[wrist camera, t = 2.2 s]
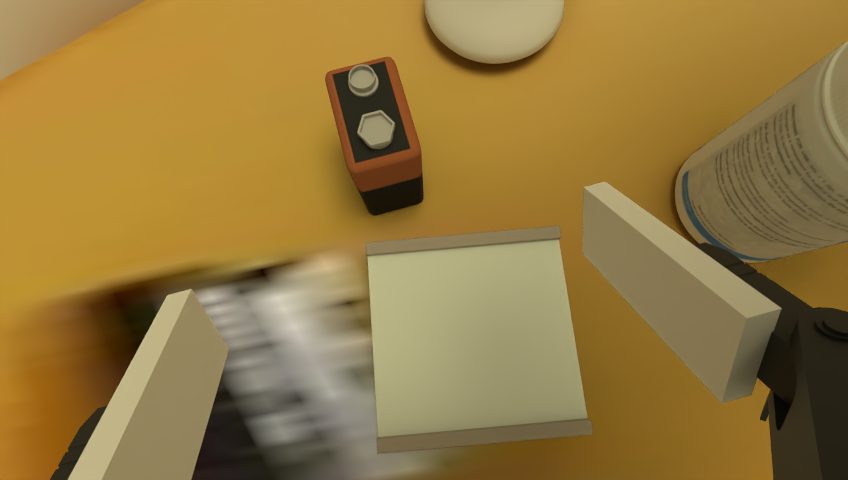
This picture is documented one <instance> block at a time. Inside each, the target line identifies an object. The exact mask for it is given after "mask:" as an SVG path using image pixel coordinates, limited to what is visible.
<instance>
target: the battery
mask: <svg viewBox="0 0 848 480" xmlns="http://www.w3.org/2000/svg"><path fill="white" fill-rule="evenodd" d="M325 81H326V86H327V90H328V94H329V98H330V102H331V106H332V109H333V113H334V117H335V121H336V125H337V129H338V133H339V137H340V141H341V145H342V149H343V153H344V157H345V160H346V164H347V168H348V170H349V172H350V174H351V176H352V178H353V180H354V182H355V184H356V186H357V188H358V190H359V193H360V195H361V197H362V199H363V201H364V203H365V205H366V207H367V209H368V211H369V212H370V213H371V214H373V215H376V214H380V213H384V212H388V211H391V210H395V209H399V208H402V207H406V206H410V205H413V204H417V203H420V202H421V201H422V200H423V177H422V158H421V147H420V144H419V140H418V137H417V134H416V130H415V127H414V124H413V120H412V117H411V114H410V110H409V107H408V104H407V100H406V97H405V94H404V90H403V87H402V84H401V80H400V77H399V74H398V70H397V67H396V64H395V62H394V60H393V59H392V58H391V57H384V58H380V59H376V60H372V61H368V62H364V63H360V64H356V65H352V66H348V67H344V68H340V69H336V70H333V71H329V72H328V73H327V74H326V77H325Z"/></svg>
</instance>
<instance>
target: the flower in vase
mask: <svg viewBox="0 0 848 480" xmlns="http://www.w3.org/2000/svg"><path fill="white" fill-rule="evenodd" d="M424 9H425V15H426V18H427V21H428V23H429V25H430V27H431V29H432V31H433V32H434V34H435V35H436V36H437V38H438V39H439V40H440V41H441V42H442V43H443V44H444V45H446V46H447V47H448V48H449V49H451V50H452V51H454V52H455V53H457V54H458V55H460V56H462V57H465V58H467V59H470V60H473V61H476V62H481V63H489V64H501V63H508V62H512V61H516V60H520V59H522V58H525V57H528V56H530V55H532V54H533V53H535V52H537V51H538V50H540V49H541V48H543V47H544V46H545V45H546V44H547V43H548V42H549V41H550V40H551V39H552V38H553V36H554V35H555V34H556V32H557V30H558V28H559V26H560V24H561V21H562V18H563V13H564V0H424Z"/></svg>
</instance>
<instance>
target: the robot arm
mask: <svg viewBox="0 0 848 480" xmlns="http://www.w3.org/2000/svg"><path fill="white" fill-rule="evenodd" d="M583 255H584V256H585V257H586V258H587V259H588V260H589V261H590V262H591V264H592V265H593V266H594V267H595V268H596V269H597V270H598V271H599V272H600V273H601V274H602V275H603V276H604V278H605V279H606V280H607V281H608V282H609V283H610V284H611V285H612V286H613V287H614V288H615V289H616V290H617V292H618V293H619V294H620V295H621V296H622V297H623V298H624V299H625V300H626V301H627V302H628V303H629V304H630V306H631V307H632V308H633V309H634V310H635V311H636V312H637V313H638V314H639V315H640V316H641V317H642V318H643V320H644V321H645V322H646V323H647V324H648V325H649V326H650V327H651V328H652V329H653V330H654V331H655V332H656V334H657V335H658V336H659V337H660V338H661V339H662V340H663V341H664V342H665V343H666V344H667V345H668V347H669V348H670V349H671V350H672V351H673V352H674V353H675V354H676V355H677V356H678V357H679V358H680V359H681V361H682V362H683V363H684V364H685V365H686V366H687V367H688V368H689V369H690V370H691V371H692V372H693V373H694V375H695V376H696V377H697V378H698V379H699V380H700V381H701V382H702V383H703V384H704V385H705V386H706V387H707V389H708V390H709V391H710V392H711V393H712V394H713V395H714V396H715V397H716V398H717V399H718V400H719V401H720V403H725V402H728V401H732V400H735V399H738V398H742V397H745V396H749V395H752V392H753V389H754V386H755V383H756V380H757V377H758V378H759V379H760V380H761V381H762V382H763V383H764V384H765V385H766V386H767V387H769V388H770V389H771V390H770V392H769V395H768V397H767V400H766V403H765V405H764V408H763V410H762V413H761V417H760V420H763V421H766V419H767V417H768V414H769V425H770V438H771V451H772V465H773V478H774V480H848V312H846V311H842V310H838V309H834V308H821V307H818V308H812V307H811V306H809V305H808V304H806V303H805V302H803V301H802V300H800V299H799V298H797V297H796V296H794V295H793V294H791V293H790V292H788V291H787V290H785V289H784V288H782V287H781V286H779V285H778V284H776V283H775V282H773V281H772V280H770V279H769V278H767V277H766V276H764V275H763V274H761V273H757V270H755V269H754V268H752V267H751V266H750V265H748V264H744V263H743V261H742V260H741V259H739V258H738V257H736V256H735V255H733V254H732V253H730V252H729V251H727V250H725V249H722V248H720V247H717V246H714V245H711V244H709V243H706V242H704V243H701V244H697V245H693V244H691V243H690V242H689V241H687V240H686V239H685V238H683V237H682V236H680V235H679V234H678V233H676V232H675V231H673V230H672V229H671V228H669V227H668V226H666V225H665V224H664V223H662V222H661V221H660V220H658V219H657V218H655V217H654V216H653V215H651V214H650V213H648V212H647V211H646V210H644V209H643V208H641V207H640V206H639V205H637V204H636V203H635V202H633V201H632V200H630V199H629V198H628V197H626V196H625V195H623V194H622V193H621V192H619V191H618V190H616V189H615V188H614V187H612V186H611V185H610V184H608V183H607V182H601V183H597V184H594V185H590V186H586V187H584V193H583ZM228 351H229V348H228V347H227V345H226V343H225V342H224V340H223V339H222V337H221V335H220V334H219V332H218V331H217V329H216V327H215V326H214V324H213V323H212V321H211V319H210V318H209V316H208V315H207V313H206V311H205V310H204V308H203V307H202V305H201V303H200V302H199V300H198V299H197V297H196V295H195V294H194V292H193V290H192V289H189V290H186V291H182V292H178V293H174V294H170V295H167V297H166V299H165V301H164V302H163V304H162V306H161V308H160V310H159V312H158V314H157V315H156V317H155V319H154V321H153V323H152V325H151V327H150V328H149V330H148V332H147V334H146V336H145V338H144V339H143V341H142V343H141V345H140V347H139V349H138V351H137V352H136V354H135V356H134V358H133V360H132V362H131V364H130V365H129V367H128V369H127V371H126V373H125V375H124V377H123V378H122V380H121V382H120V384H119V386H118V388H117V389H116V391H115V393H114V395H113V397H112V399H111V401H110V402H109V404H108V406H105V407H101V408H98V409H97V410H96V411H95V412H94V413H93V414H92V415H91V417H90V418H89V419H88V420H87V421H86V422H85V423H84V424H83V425H82V426H81V427H80V429H79V430H78V432H77V434H76V436H75V437H74V439H73V441H72V442H71V444H70V446H69V448H68V449H69V451H68V452H66V453H65V455H64V456H63V458H62V460H61V462H60V463H59V465H58V466H59V469H57V470H55V472H54V474H53V475H52V477H51V479H50V480H191V478H192V475H193V471H194V468H195V464H196V461H197V457H198V454H199V451H200V447H201V444H202V440H203V437H204V433H205V430H206V426H207V423H208V420H209V416H210V413H211V409H212V406H213V402H214V399H215V395H216V392H217V389H218V385H219V382H220V378H221V375H222V371H223V368H224V364H225V361H226V358H227V354H228Z"/></svg>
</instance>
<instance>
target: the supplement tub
mask: <svg viewBox="0 0 848 480" xmlns="http://www.w3.org/2000/svg"><path fill="white" fill-rule="evenodd" d="M675 203H676V208H677V212H678V215H679V217H680V220H681V222H682V223H683V225H684V227H685V229H686V230H687V231H688V232H689V234H690V235H691V236H692V237H693V238H694V239H695V240H696V241H697V242H698V243H699V244H701V243H704V242H706V243H709V244H711V245H714V246H717V247H720V248H722V249H725V250H727V251H729V252H730V253H732V254H733V255H735V256H736V257H738V258H739V259H741V260H742V261H743V262H746V263H757V262H765V261H769V260H774V259H778V258H782V257H786V256H790V255H795V254H799V253H803V252H807V251H811V250H815V249H819V248H823V247H827V246H831V245H835V244H840V243H844V242H848V41H847V42H845V43H844V44H842V45H841V46H840V47H838V48H837V49H835V50H834V51H833V52H831V53H830V54H828V55H827V56H826V57H824V58H823V59H821V60H820V61H819V62H817V63H816V64H814V65H813V66H812V67H810V68H809V69H807V70H806V71H805V72H803V73H802V74H801V75H799V76H798V77H796V78H795V79H794V80H792V81H791V82H790V83H788V84H787V85H785V86H784V87H783V88H781V89H780V90H779V91H777V92H776V93H775V94H773V95H772V96H771V97H769V98H768V99H766V100H765V101H764V102H762V103H761V104H760V105H758V106H757V107H755V108H754V109H753V110H751V111H750V112H749V113H747V114H746V115H744V116H743V117H742V118H740V119H739V120H738V121H736V122H735V123H733V124H732V125H731V126H729V127H728V128H727V129H725V130H724V131H722V132H721V133H720V134H718V135H717V136H716V137H714V138H713V139H712V140H710V141H709V142H708V143H706V144H705V145H703V146H702V147H701V148H699V149H698V150H697V151H696V152H694V153H693V154H692V155H691V156H690V157H689V158H688V159H687V160H686V161H685V163H684V164H683V166H682V167H681V169H680V171H679V173H678V176H677V180H676V185H675Z"/></svg>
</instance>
